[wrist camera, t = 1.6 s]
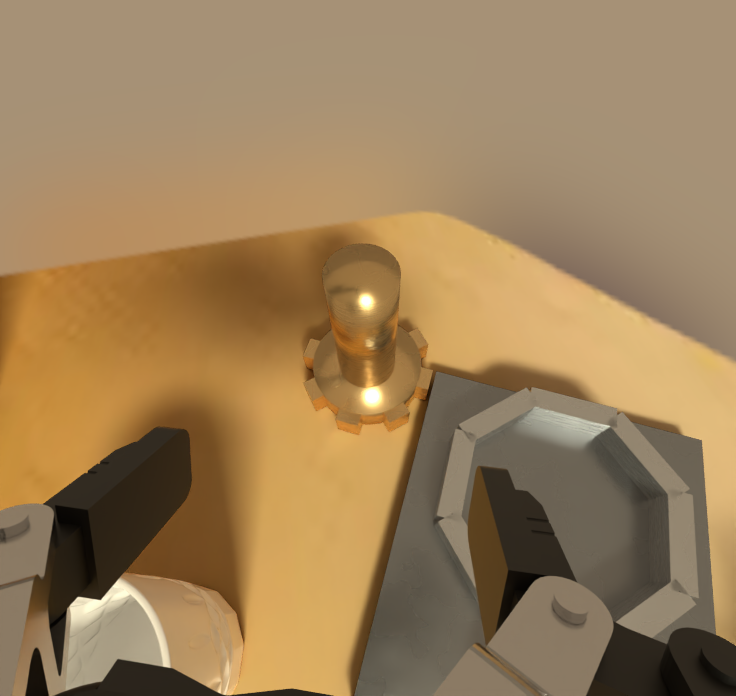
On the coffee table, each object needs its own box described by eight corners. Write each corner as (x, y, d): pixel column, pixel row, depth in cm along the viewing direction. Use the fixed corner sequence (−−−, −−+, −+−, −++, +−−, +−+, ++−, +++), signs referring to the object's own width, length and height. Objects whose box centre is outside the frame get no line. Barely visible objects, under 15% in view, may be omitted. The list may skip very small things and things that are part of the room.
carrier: (351, 703, 20) (345, 731, 17) (434, 379, 28) (442, 349, 25) (711, 850, 18) (798, 921, 14) (688, 445, 26) (739, 423, 22)
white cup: (277, 595, 23) (212, 606, 14) (216, 790, 19) (76, 974, 10) (147, 554, 24) (11, 541, 15) (66, 731, 20) (-177, 851, 11)
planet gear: (288, 414, 28) (238, 326, 18) (330, 312, 31) (308, 194, 22) (412, 451, 26) (430, 377, 17) (441, 339, 30) (469, 226, 20)
